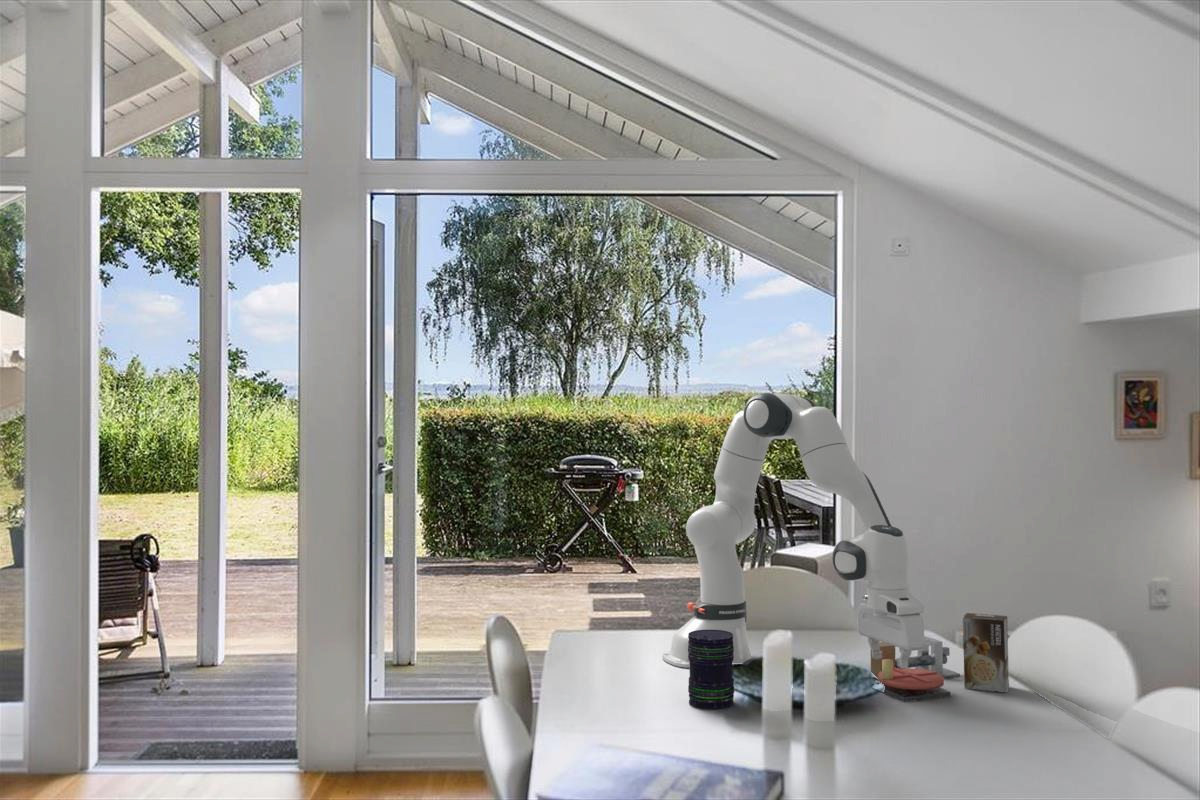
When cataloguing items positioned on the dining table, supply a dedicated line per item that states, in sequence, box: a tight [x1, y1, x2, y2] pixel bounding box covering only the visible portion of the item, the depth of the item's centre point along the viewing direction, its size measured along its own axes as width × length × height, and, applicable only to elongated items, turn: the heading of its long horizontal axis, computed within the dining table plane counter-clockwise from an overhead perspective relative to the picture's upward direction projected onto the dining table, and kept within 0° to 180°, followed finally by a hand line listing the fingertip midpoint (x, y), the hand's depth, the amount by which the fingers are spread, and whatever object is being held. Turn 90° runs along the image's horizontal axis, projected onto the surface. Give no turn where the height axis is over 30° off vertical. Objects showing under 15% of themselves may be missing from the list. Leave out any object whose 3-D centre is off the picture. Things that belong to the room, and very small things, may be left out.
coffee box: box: [962, 612, 1010, 693], centre depth 245 cm, size 9×6×16 cm
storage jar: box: [687, 630, 735, 711], centre depth 234 cm, size 10×10×15 cm
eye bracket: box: [914, 635, 961, 679], centre depth 258 cm, size 6×9×8 cm, turn 20°
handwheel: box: [877, 659, 945, 690], centre depth 242 cm, size 14×14×6 cm
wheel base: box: [883, 685, 952, 703], centre depth 242 cm, size 12×12×1 cm
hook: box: [870, 641, 951, 678], centre depth 256 cm, size 20×4×8 cm, turn 110°
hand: (889, 663), depth 240 cm, fingers open, 8 cm apart
